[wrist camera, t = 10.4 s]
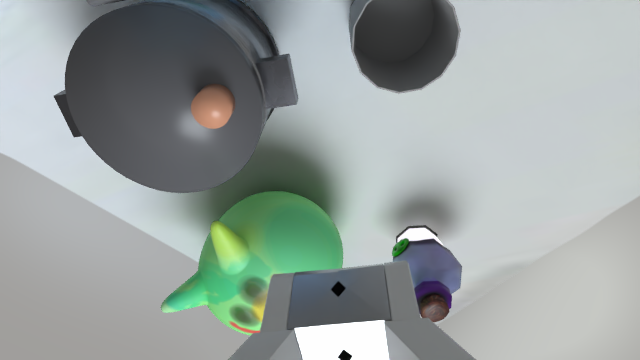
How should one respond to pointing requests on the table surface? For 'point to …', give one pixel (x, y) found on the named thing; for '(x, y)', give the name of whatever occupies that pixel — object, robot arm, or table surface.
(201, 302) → the toy bird
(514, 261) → the table surface
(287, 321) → the robot arm
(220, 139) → the lid
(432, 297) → the potion bottle
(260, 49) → the cooker pot
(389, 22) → the cup
